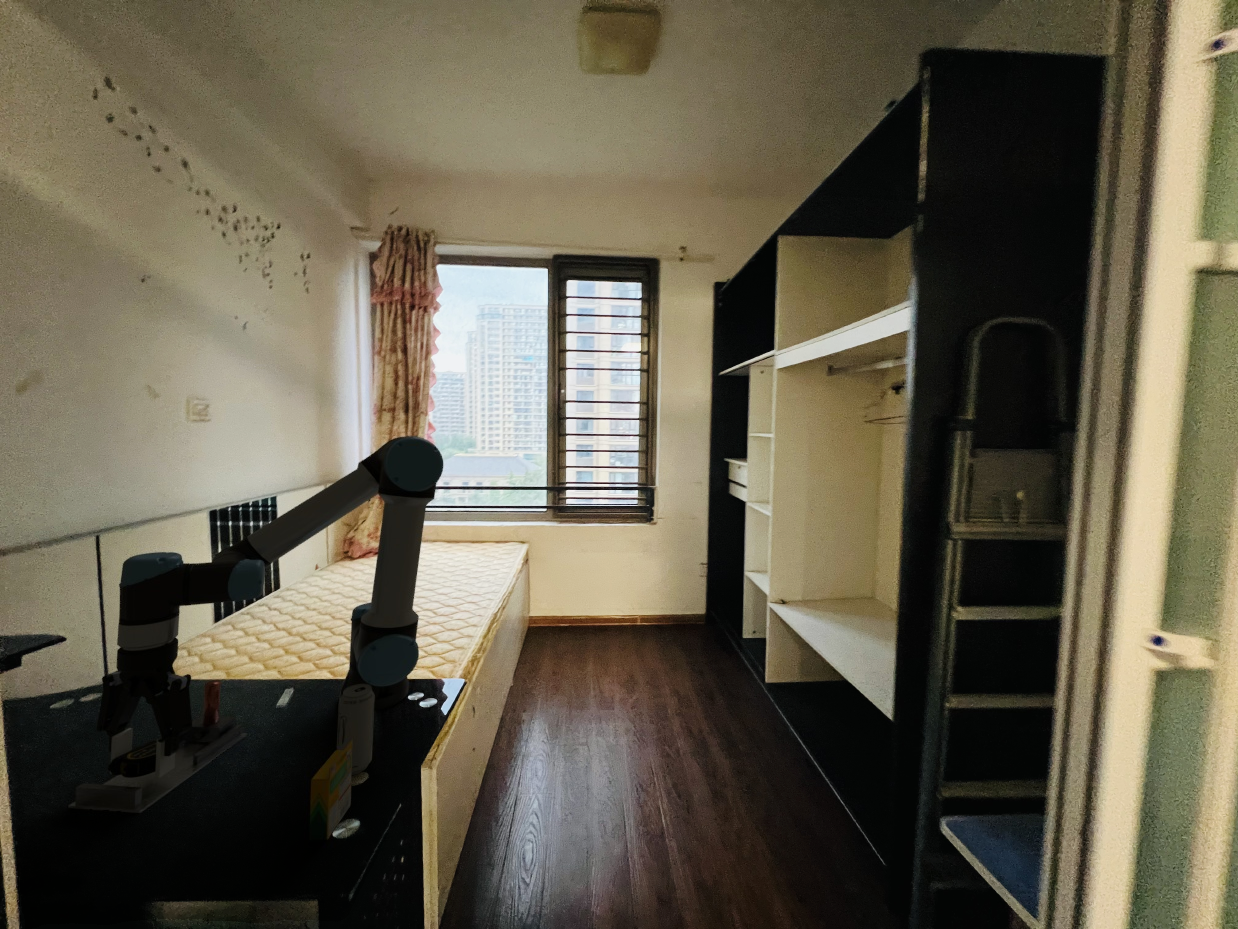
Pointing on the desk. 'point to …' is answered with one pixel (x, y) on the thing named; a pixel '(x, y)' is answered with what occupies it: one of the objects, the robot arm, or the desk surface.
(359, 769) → the energy drink can
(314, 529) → the robot arm
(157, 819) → the desk surface
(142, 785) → the press bed
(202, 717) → the ram
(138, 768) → the tape measure
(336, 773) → the crayon box
